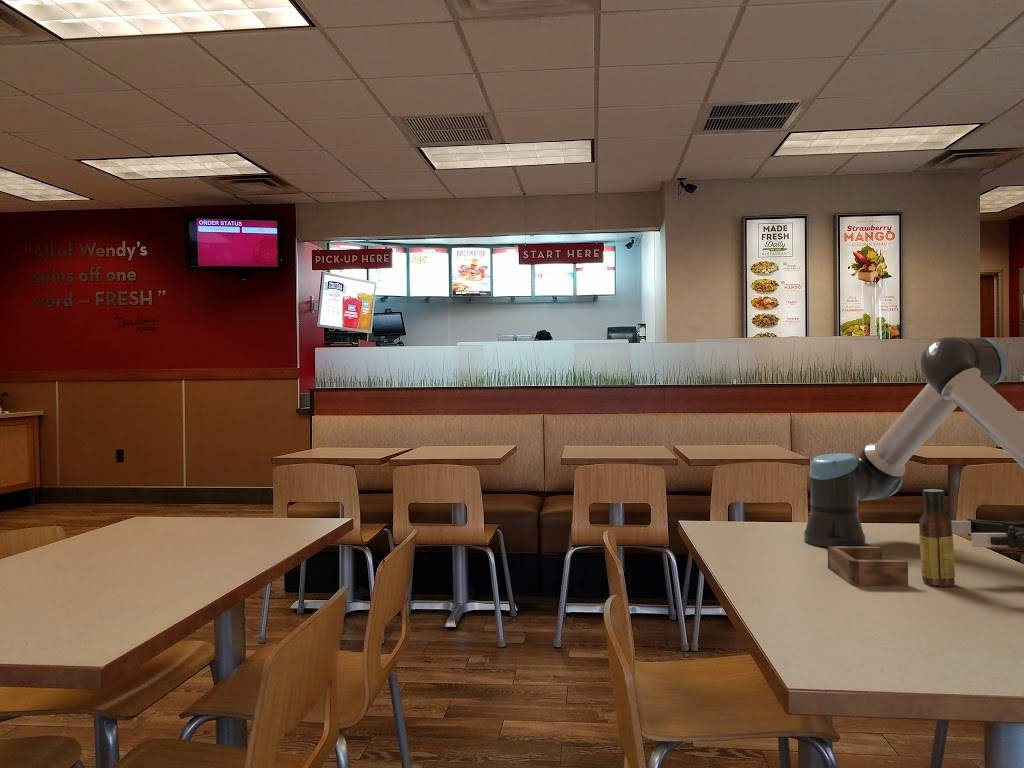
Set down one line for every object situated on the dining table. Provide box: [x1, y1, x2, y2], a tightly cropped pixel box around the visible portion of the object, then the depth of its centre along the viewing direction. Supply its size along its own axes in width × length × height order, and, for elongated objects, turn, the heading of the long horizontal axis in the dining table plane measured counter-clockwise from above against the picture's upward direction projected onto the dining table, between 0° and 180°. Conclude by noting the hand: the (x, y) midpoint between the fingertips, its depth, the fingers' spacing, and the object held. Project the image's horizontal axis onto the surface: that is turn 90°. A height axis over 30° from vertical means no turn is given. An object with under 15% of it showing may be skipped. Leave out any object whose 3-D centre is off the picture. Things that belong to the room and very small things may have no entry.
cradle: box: [827, 546, 909, 587], centre depth 168 cm, size 12×15×5 cm
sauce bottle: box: [918, 488, 956, 588], centre depth 161 cm, size 7×6×20 cm
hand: (954, 533), depth 160 cm, fingers open, 13 cm apart
